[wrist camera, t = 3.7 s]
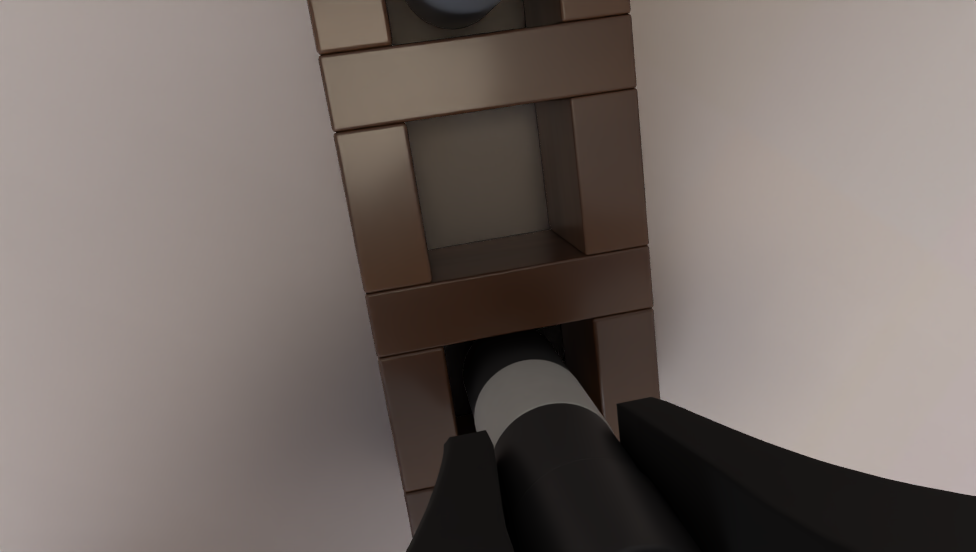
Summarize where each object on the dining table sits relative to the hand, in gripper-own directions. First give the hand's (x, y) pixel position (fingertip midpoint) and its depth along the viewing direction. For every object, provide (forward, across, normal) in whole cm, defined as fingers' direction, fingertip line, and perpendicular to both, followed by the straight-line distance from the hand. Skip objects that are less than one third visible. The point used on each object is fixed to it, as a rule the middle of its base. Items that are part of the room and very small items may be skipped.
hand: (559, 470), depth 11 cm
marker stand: (+6, 0, -4) cm, 7 cm away
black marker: (+4, 0, 0) cm, 4 cm away
